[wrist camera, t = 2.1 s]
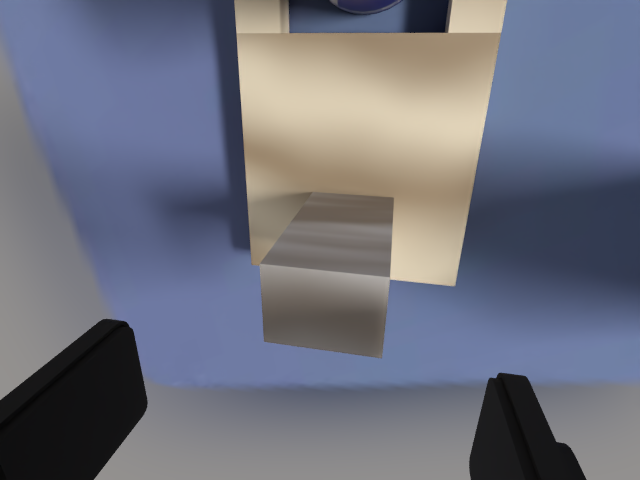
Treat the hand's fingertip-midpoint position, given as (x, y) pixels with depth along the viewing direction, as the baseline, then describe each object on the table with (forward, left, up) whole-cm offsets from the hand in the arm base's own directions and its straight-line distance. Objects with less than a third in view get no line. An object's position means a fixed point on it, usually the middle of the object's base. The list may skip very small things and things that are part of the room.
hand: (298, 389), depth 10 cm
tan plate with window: (-9, 0, -12) cm, 15 cm away
